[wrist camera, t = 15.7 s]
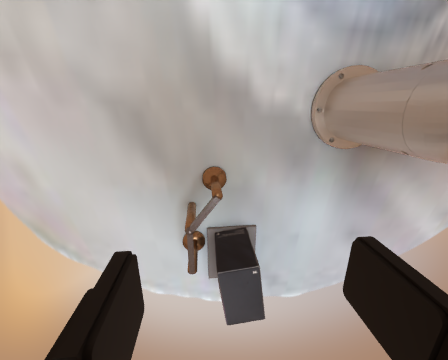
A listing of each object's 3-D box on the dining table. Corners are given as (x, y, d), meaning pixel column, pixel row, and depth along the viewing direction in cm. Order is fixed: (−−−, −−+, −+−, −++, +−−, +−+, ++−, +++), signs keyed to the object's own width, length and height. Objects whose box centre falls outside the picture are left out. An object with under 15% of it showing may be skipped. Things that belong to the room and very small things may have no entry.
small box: (211, 232, 40) (215, 273, 31) (247, 225, 41) (261, 264, 31) (220, 277, 44) (225, 328, 34) (252, 271, 44) (267, 320, 34)
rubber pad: (255, 224, 42) (256, 226, 41) (253, 272, 45) (253, 275, 45) (207, 227, 41) (207, 229, 40) (208, 276, 44) (208, 278, 44)
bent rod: (229, 170, 38) (237, 189, 29) (201, 251, 42) (201, 287, 34) (201, 162, 37) (201, 179, 28) (175, 245, 41) (169, 281, 33)
